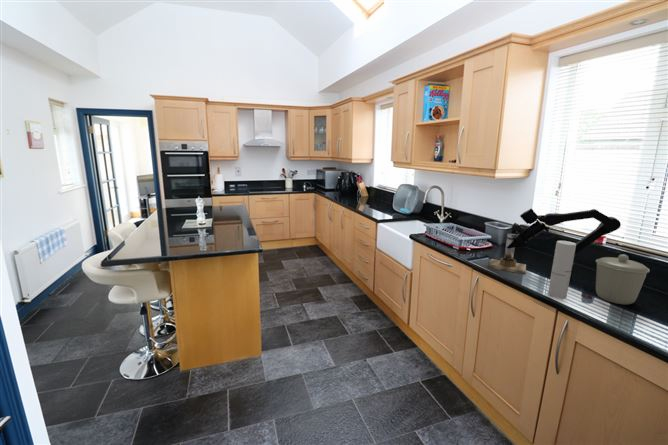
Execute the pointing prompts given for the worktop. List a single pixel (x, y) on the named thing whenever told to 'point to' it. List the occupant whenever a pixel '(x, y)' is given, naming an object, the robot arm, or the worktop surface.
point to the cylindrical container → (561, 269)
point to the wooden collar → (508, 262)
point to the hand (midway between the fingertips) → (507, 246)
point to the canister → (619, 279)
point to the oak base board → (518, 269)
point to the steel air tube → (509, 252)
